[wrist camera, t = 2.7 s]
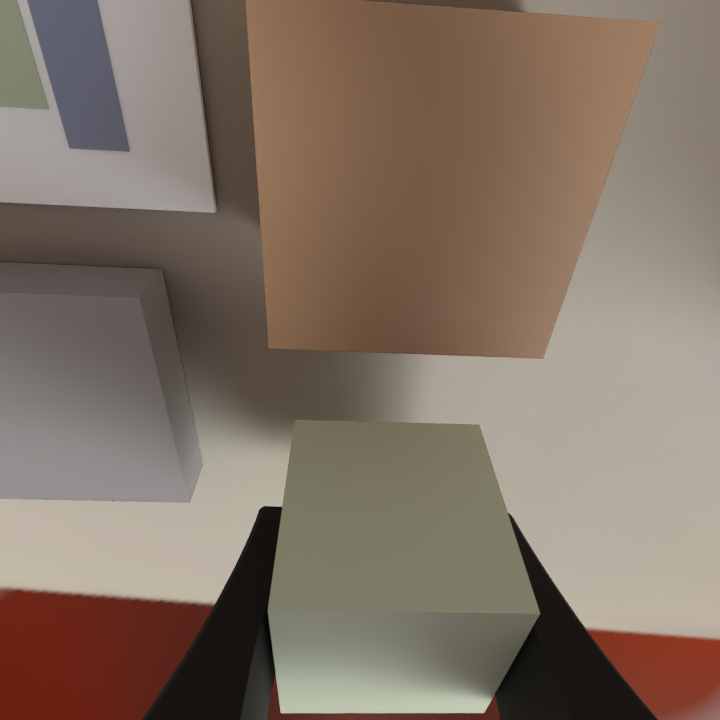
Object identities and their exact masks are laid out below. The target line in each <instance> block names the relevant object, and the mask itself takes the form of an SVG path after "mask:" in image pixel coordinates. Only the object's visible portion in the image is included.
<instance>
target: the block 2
mask: <svg viewBox="0 0 720 720" xmlns="http://www.w3.org/2000/svg"><path fill="white" fill-rule="evenodd" d="M539 615H540V611H539V608H538V605H537V602H536V599H535V596H534V593H533V589H532V586H531V583H530V580H529V577H528V574H527V571H526V568H525V565H524V562H523V559H522V555H521V552H520V549H519V546H518V543H517V540H516V537H515V534H514V531H513V528H512V525H511V521H510V518H509V515H508V512H507V509H506V506H505V503H504V500H503V497H502V494H501V491H500V488H499V484H498V481H497V478H496V475H495V472H494V469H493V466H492V463H491V460H490V457H489V454H488V450H487V447H486V444H485V441H484V438H483V435H482V432H481V429H480V426H479V425H471V424H434V423H396V422H358V421H321V420H295V422H294V429H293V436H292V443H291V450H290V457H289V464H288V471H287V478H286V485H285V492H284V499H283V506H282V513H281V520H280V527H279V534H278V541H277V548H276V555H275V562H274V569H273V576H272V583H271V590H270V598H269V605H268V618H269V626H270V634H271V641H272V649H273V657H274V664H275V672H276V680H277V687H278V694H279V703H280V710H281V713H484V712H485V710H486V708H487V707H488V705H489V703H490V701H491V700H492V698H493V696H494V694H495V693H496V691H497V689H498V687H499V686H500V684H501V682H502V680H503V678H504V677H505V675H506V673H507V671H508V670H509V668H510V666H511V664H512V663H513V661H514V659H515V657H516V655H517V654H518V652H519V650H520V648H521V647H522V645H523V643H524V641H525V640H526V638H527V636H528V634H529V632H530V631H531V629H532V627H533V625H534V624H535V622H536V620H537V618H538V617H539Z"/></svg>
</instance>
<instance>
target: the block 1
mask: <svg viewBox="0 0 720 720" xmlns="http://www.w3.org/2000/svg"><path fill="white" fill-rule="evenodd" d="M245 5H246V20H247V34H248V49H249V64H250V79H251V94H252V109H253V124H254V138H255V153H256V168H257V183H258V198H259V213H260V228H261V242H262V257H263V272H264V287H265V302H266V317H267V332H268V346H269V348H270V349H297V350H324V351H350V352H377V353H404V354H431V355H458V356H484V357H511V358H538V359H543V357H544V354H545V351H546V348H547V345H548V343H549V340H550V337H551V334H552V331H553V328H554V325H555V323H556V320H557V317H558V314H559V311H560V308H561V305H562V303H563V300H564V297H565V294H566V291H567V288H568V285H569V283H570V280H571V277H572V274H573V271H574V268H575V265H576V263H577V260H578V257H579V254H580V251H581V248H582V246H583V243H584V240H585V237H586V234H587V231H588V228H589V226H590V223H591V220H592V217H593V214H594V211H595V208H596V206H597V203H598V200H599V197H600V194H601V191H602V188H603V186H604V183H605V180H606V177H607V174H608V171H609V168H610V166H611V163H612V160H613V157H614V154H615V151H616V149H617V146H618V143H619V140H620V137H621V134H622V131H623V129H624V126H625V123H626V120H627V117H628V114H629V111H630V109H631V106H632V103H633V100H634V97H635V94H636V91H637V89H638V86H639V83H640V80H641V77H642V74H643V72H644V69H645V66H646V63H647V60H648V57H649V54H650V52H651V49H652V46H653V43H654V40H655V37H656V34H657V32H658V29H659V26H660V22H647V21H634V20H620V19H607V18H593V17H580V16H567V15H553V14H540V13H527V12H513V11H500V10H486V9H473V8H460V7H446V6H433V5H420V4H406V3H393V2H380V1H366V0H245Z"/></svg>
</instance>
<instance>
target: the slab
mask: <svg viewBox="0 0 720 720" xmlns="http://www.w3.org/2000/svg"><path fill="white" fill-rule="evenodd" d="M202 465H203V464H202V459H201V455H200V450H199V445H198V440H197V435H196V430H195V426H194V421H193V416H192V411H191V406H190V402H189V397H188V392H187V387H186V382H185V377H184V373H183V368H182V363H181V358H180V353H179V348H178V344H177V339H176V334H175V329H174V324H173V319H172V315H171V310H170V305H169V300H168V295H167V290H166V286H165V281H164V276H163V271H162V269H148V268H125V267H102V266H79V265H56V264H33V263H10V262H0V499H43V500H91V501H139V502H187V503H190V501H191V498H192V495H193V492H194V489H195V486H196V483H197V480H198V477H199V474H200V471H201V468H202Z"/></svg>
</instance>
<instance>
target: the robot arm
mask: <svg viewBox="0 0 720 720" xmlns="http://www.w3.org/2000/svg"><path fill="white" fill-rule="evenodd" d="M281 513H282V507H269V506H264V507H262V508H261V509H260V510H259V513H258V515H257V518H256V521H255V523H254V526H253V528H252V531H251V533H250V536H249V538H248V540H247V542H246V545H245V547H244V549H243V551H242V553H241V555H240V557H239V560H238V562H237V564H236V566H235V568H234V570H233V572H232V574H231V575H230V577H229V579H228V581H227V583H226V585H225V587H224V589H223V591H222V593H221V594H220V596H219V598H218V600H217V602H216V604H215V606H214V607H213V609H212V611H211V613H210V614H209V616H208V618H207V619H206V621H205V623H204V624H203V626H202V628H201V629H200V631H199V633H198V635H197V636H196V638H195V640H194V641H193V643H192V645H191V646H190V648H189V650H188V651H187V653H186V654H185V656H184V658H183V659H182V661H181V662H180V664H179V665H178V667H177V668H176V670H175V672H174V673H173V675H172V676H171V678H170V679H169V681H168V682H167V684H166V685H165V687H164V688H163V690H162V691H161V693H160V694H159V696H158V697H157V699H156V700H155V702H154V703H153V704H152V706H151V707H150V709H149V710H148V711H147V713H146V714H145V716H144V717H143V719H142V720H267V714H268V708H269V703H270V697H271V692H272V687H273V681H274V675H275V664H274V657H273V649H272V641H271V634H270V626H269V618H268V605H269V598H270V590H271V583H272V576H273V569H274V562H275V555H276V548H277V541H278V534H279V527H280V520H281ZM508 515H509V518H510V521H511V525H512V528H513V531H514V534H515V537H516V540H517V543H518V546H519V549H520V552H521V555H522V559H523V562H524V565H525V568H526V571H527V574H528V577H529V580H530V583H531V586H532V589H533V593H534V596H535V599H536V602H537V605H538V608H539V611H540V615H539V617H538V618H537V620H536V622H535V624H534V625H533V627H532V629H531V631H530V632H529V634H528V636H527V638H526V640H525V641H524V643H523V645H522V647H521V648H520V650H519V652H518V654H517V655H516V657H515V659H514V661H513V663H512V664H511V666H510V668H509V670H508V671H507V673H506V675H505V677H504V678H503V680H502V682H501V684H500V686H499V687H498V689H497V691H496V693H495V697H496V701H497V705H498V709H499V714H500V718H501V720H658V719H657V718H656V717H655V716H654V714H653V713H652V712H651V711H650V710H649V709H648V707H647V706H646V705H645V704H644V702H643V701H642V700H641V699H640V698H639V697H638V695H637V694H636V693H635V692H634V690H633V689H632V688H631V687H630V686H629V684H628V683H627V682H626V681H625V679H624V678H623V677H622V676H621V674H620V673H619V672H618V671H617V669H616V668H615V667H614V666H613V664H612V663H611V662H610V660H609V659H608V658H607V657H606V655H605V654H604V653H603V651H602V650H601V649H600V647H599V646H598V645H597V643H596V642H595V641H594V639H593V638H592V637H591V635H590V634H589V633H588V631H587V630H586V629H585V627H584V626H583V624H582V623H581V622H580V620H579V619H578V617H577V616H576V615H575V613H574V612H573V610H572V609H571V607H570V606H569V604H568V603H567V602H566V600H565V599H564V597H563V596H562V594H561V593H560V591H559V590H558V589H557V587H556V586H555V584H554V583H553V581H552V580H551V578H550V577H549V575H548V573H547V572H546V570H545V569H544V567H543V566H542V564H541V563H540V561H539V559H538V558H537V556H536V555H535V553H534V552H533V550H532V548H531V547H530V545H529V544H528V542H527V540H526V539H525V537H524V535H523V534H522V532H521V530H520V529H519V527H518V525H517V524H516V522H515V520H514V519H513V517H512V516H511V515H510V514H509V513H508Z"/></svg>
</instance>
